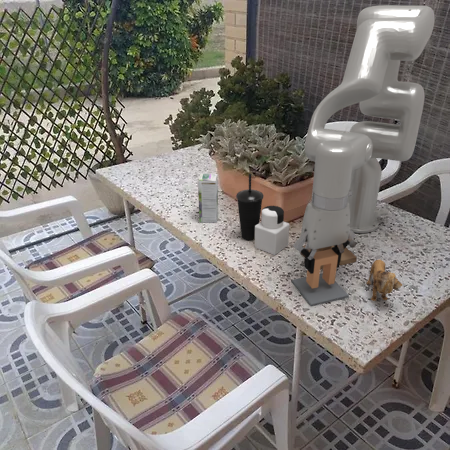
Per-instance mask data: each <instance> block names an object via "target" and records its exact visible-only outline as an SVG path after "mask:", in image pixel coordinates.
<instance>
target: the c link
mask: <svg viewBox="0 0 450 450" xmlns="http://www.w3.org/2000/svg"><path fill="white" fill-rule="evenodd" d="M313 258H314V259H315V264H314V273H313V274H310V272H309V271H308V270H307V269H306V276H307V278H306V282H307V283H308V284H309V285H310V287H311V288H312V289H313V288H317V287H318V284H319V275H320V273H321V270H320V266H321V265H324V267H323V270H322V273H323V276H322V278H323V279H324V280H325V281H326V282H327V283H328V285H330V284H334V283H335V281H336V276H337V269H338V268H337V261H338V255H337V254H336V253H335V252H334V251H333V250H332V249H329V250H324V251H319V252H316V253H315V255H314V257H313Z"/></svg>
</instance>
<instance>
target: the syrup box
mask: <svg viewBox="0 0 450 450" xmlns="http://www.w3.org/2000/svg"><path fill="white" fill-rule="evenodd" d="M218 175H219V174H217V173H209V172H208V173H199V176H198V181H197V189H198V190H197V191H198V195H197V197H198V198H197V199H198V218H199V219H198V220H199V221H198V222H199V223H205V224H206V223H218V217H219V188H218V187H219V183H218V178H219V177H218Z"/></svg>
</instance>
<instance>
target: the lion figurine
mask: <svg viewBox="0 0 450 450" xmlns="http://www.w3.org/2000/svg"><path fill="white" fill-rule="evenodd" d="M368 272H369V277H368V280H367V281H366V284H367V285H368V286H371V285H372V295H371V298H370V300H371V301H372V302H376V301H377V299H378V295H377V293H379V294H380V297H381V299H382V300H383V301H387V300H388V297H387V294H391V293H393V290H395V291H399V289H401V287H402V286H403V283H402V282H400V281H399V279H398V278H397V276H396V274H395V272H391V271H386V263H385V261H384V260H382V259H376V260H374V261H373V263H372V264H371V267H370V270H368ZM372 280H373V283H372Z"/></svg>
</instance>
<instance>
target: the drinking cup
mask: <svg viewBox="0 0 450 450" xmlns="http://www.w3.org/2000/svg"><path fill="white" fill-rule="evenodd" d="M235 198H236V199H237V208H238V218H239V228H240V237H241V239H242V240H244V241H247V242H250V241H251V242H252V241H255V226H256V225H257V224H259V223H260V222H261V221H260V219H261V214H262V205H263V199H264V194H263V192H261V191H260V190H257V189H252V173H248V189H244V190H243V189H242V190H240V191H238V192H236V196H235Z"/></svg>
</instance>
